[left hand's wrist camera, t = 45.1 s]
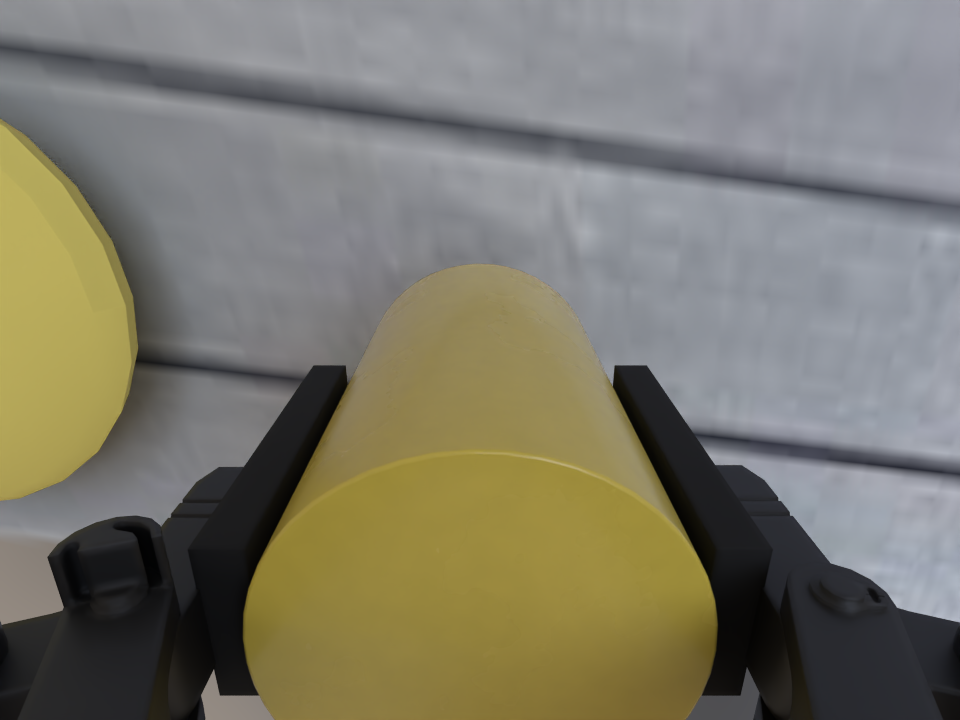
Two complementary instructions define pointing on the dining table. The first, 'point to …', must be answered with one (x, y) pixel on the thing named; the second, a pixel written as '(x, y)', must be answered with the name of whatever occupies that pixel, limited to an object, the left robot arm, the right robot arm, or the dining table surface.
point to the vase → (56, 323)
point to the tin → (480, 532)
